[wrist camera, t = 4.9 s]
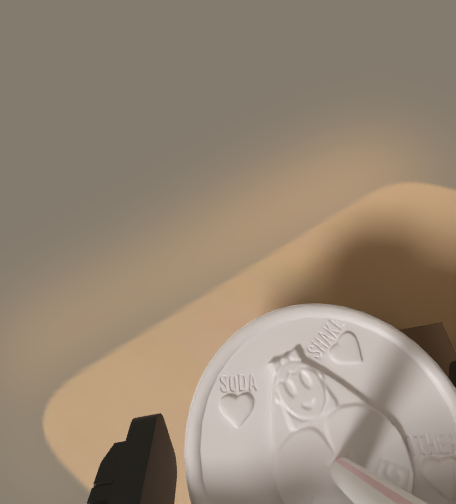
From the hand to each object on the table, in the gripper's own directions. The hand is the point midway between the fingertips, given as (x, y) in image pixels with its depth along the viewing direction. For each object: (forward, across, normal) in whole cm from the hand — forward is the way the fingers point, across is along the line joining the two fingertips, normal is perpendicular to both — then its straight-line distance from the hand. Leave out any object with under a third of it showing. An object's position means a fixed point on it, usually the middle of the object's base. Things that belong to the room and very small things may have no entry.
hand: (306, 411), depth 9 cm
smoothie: (+5, 0, +6) cm, 8 cm away
